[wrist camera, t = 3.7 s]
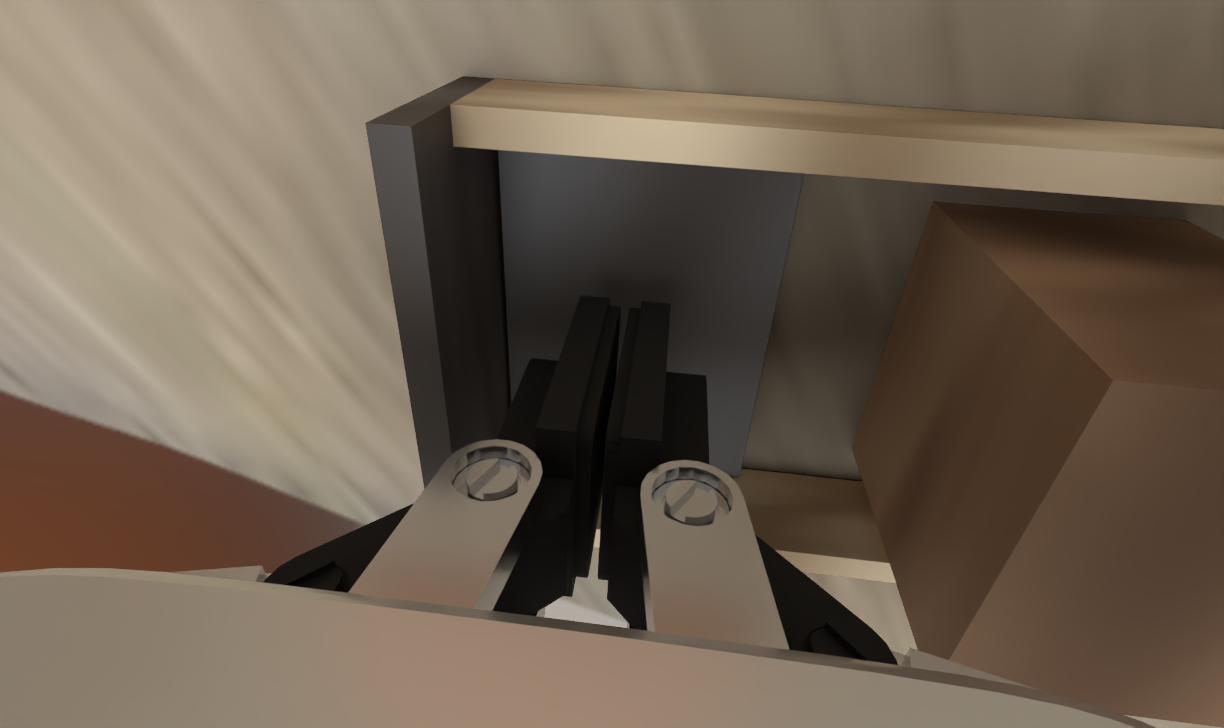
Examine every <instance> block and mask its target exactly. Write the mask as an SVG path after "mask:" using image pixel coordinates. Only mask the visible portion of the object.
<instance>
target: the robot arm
mask: <svg viewBox="0 0 1224 728" xmlns="http://www.w3.org/2000/svg"><path fill="white" fill-rule="evenodd" d="M670 308H671V304H670V303H659V302H648V301H642V303H641V308H629V313H628V318H627V324H626V329H625V334H624V340H623V345H622V350H621V356H620V361H619V366H618V372H617V363H618V347H619V331H620V315H621V307H620V306H610V298H605V297H594V296H584V295H581V296H580V298H579V301H578V304H577V307H576V310H575V313H574V316H573V319H572V322H571V325H570V328H569V331H568V333H567V336H566V339H565V342H564V345H563V348H562V351H561V354H560V357H559V360H558V361H557V360H547V359H537V358H532V359H530V361H529V363H528V365H527V367H526V370H525V372H524V375H523V377H522V379H521V382H520V384H519V387H518V389H517V391H516V394H515V396H514V399H513V401H512V403H511V406H510V408H509V411H508V413H507V415H506V418H505V420H504V423H503V425H502V427H501V430H500V432H499V435H498V437H497V439H494V440H484V441H479V442H476V443H473V444H469V445H466V446H465V447H463V448H461V449H459V450H458V451H456V452H454V453H453V454H452V455H451V456H450V457H449V458H448V459H447V460H446V461H445V462H444V464H443V465H442V466H441V468H440V469H439V470H438V472H437V473H436V474H435V476H434V477H433V479H432V480H431V481H430V483H429V484H428V485H427V487H426V488H425V489H424V491H423V492H422V493H421V495H420V496H419V497H418V499H417V500H416V502H415V503H414V504H412V505H409V506H407V507H405V508H403V509H401V510H398V511H396V512H394V513H392V514H389V515H387V516H385V517H383V518H381V519H378V520H376V521H374V522H372V523H370V524H367V525H365V526H363V527H361V528H359V529H356V530H354V531H352V532H350V533H348V534H345V535H343V536H341V537H339V538H336V539H334V540H332V541H330V542H328V543H325V544H323V545H321V546H319V547H317V548H314V549H312V550H310V551H308V552H305V553H304V554H301V555H299V556H297V557H295V558H293V559H292V560H290V561H288V562H286V563H285V564H283V565H281V566H280V567H278V568H277V569H276V570H275V571H274V572H273V573H269V574H265V572H264V569H263V567H262V566H251V567H236V568H223V569H209V570H195V571H182V572H153V571H139V570H123V569H109V568H54V569H41V570H29V571H16V572H4V573H0V728H1155V727H1153V726H1151V725H1148V724H1146V723H1144V722H1141V721H1139V720H1136V719H1133V718H1130V717H1127V716H1124V715H1121V714H1118V713H1115V712H1112V711H1110V710H1107V709H1104V708H1101V707H1098V706H1095V705H1092V704H1089V703H1086V702H1083V701H1080V700H1076V699H1072V698H1068V697H1064V696H1060V695H1056V694H1052V693H1048V692H1044V691H1041V690H1038V689H1035V688H1032V687H1029V686H1026V685H1023V684H1020V683H1017V682H1014V681H1011V680H1007V679H1004V678H1001V677H998V676H995V675H992V674H989V673H986V672H983V671H980V670H977V669H974V668H971V667H968V666H965V665H961V664H958V663H955V662H952V661H949V660H946V659H943V658H940V657H937V656H934V655H931V654H928V653H925V652H922V651H919V650H916V649H912V648H909V650H908V652H907V654H906V655H903V654H900V653H897V652H894V651H891V650H890V649H889V647H888V645H887V644H886V642H885V641H884V640H883V639H882V638H881V637H880V636H879V635H878V634H877V633H876V632H875V631H874V630H873V629H872V628H870V627H869V626H868V625H867V624H866V623H864V622H863V621H862V620H861V619H859V618H858V617H857V616H856V615H854V614H853V613H852V612H851V611H849V610H848V609H847V608H846V607H845V606H843V605H842V604H841V603H840V602H838V601H837V600H836V599H835V598H833V597H832V596H831V595H830V594H828V593H827V592H826V591H825V590H824V589H822V588H821V587H820V586H819V585H817V584H816V583H815V582H814V581H812V580H811V579H810V578H809V577H807V576H806V575H805V574H804V573H803V572H801V571H800V570H799V569H798V568H796V567H795V566H794V565H793V564H791V563H790V562H789V561H788V560H786V559H785V558H784V557H783V556H782V555H780V554H779V553H778V552H777V551H775V550H774V549H773V548H772V547H770V546H769V545H768V544H767V543H765V542H764V541H763V540H762V539H761V538H759V537H758V536H757V535H756V534H755V533H754V530H753V526H752V523H751V520H750V516H749V513H748V510H747V506H746V503H745V500H744V496H743V494H742V492H741V490H740V488H739V486H738V484H737V483H736V482H735V481H734V480H733V479H732V478H731V477H730V476H729V475H728V474H727V473H725V472H723V471H722V470H720V469H718V468H717V467H715V466H712V465H709V435H708V404H707V379H706V375H696V374H686V373H676V372H667V371H666V368H667V353H668V338H669V323H670ZM601 499H602V509H601V528H600V546H599V565H598V579H601V580H608V594H607V599H608V600H609V602H610V603H611V604H612V605H613V606H614V607H615V608H616V609H617V611H618V612H619V613H620V614H621V615H622V616H623V617H624V618H625V619H626V621H627V622H628V623H627V628H621V627H614V626H606V625H599V624H590V623H583V622H575V621H568V620H560V619H552V618H544V615H545V607H546V606H547V605H549V604H551V603H552V602H554V601H555V600H557V599H559V598H560V597H562V596H570V597H572V594H573V589H574V584H575V579H576V576H577V577H585V578H587V577H588V574H589V569H590V563H591V557H592V552H593V546H594V540H595V534H596V528H597V522H598V517H599V511H600V505H601Z"/></svg>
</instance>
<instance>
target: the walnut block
mask: <svg viewBox="0 0 1224 728" xmlns="http://www.w3.org/2000/svg"><path fill="white" fill-rule="evenodd" d="M852 450H853V453H854V456H855V459H856V462H857V465H858V468H859V471H860V474H861V477H862V480H863V484H864V487H865V490H866V493H867V496H868V499H869V502H870V505H871V508H872V511H873V514H874V517H875V520H876V523H877V526H878V529H879V532H880V535H881V538H882V541H883V544H884V548H885V551H886V554H887V557H888V560H889V563H890V566H891V569H892V572H893V575H894V578H895V581H896V584H897V587H898V590H899V593H900V596H901V599H902V602H903V605H904V608H905V612H906V615H907V618H908V621H909V624H910V627H911V630H912V633H913V636H914V639H915V642H916V645H917V648H918V650H919V651H922V652H925V653H928V654H931V655H934V656H937V657H940V658H943V659H946V660H949V661H952V662H955V663H958V664H961V665H965V666H968V667H971V668H974V669H977V670H980V671H983V672H986V673H989V674H992V675H995V676H998V677H1001V678H1004V679H1007V680H1011V681H1014V682H1017V683H1020V684H1023V685H1026V686H1029V687H1032V688H1035V689H1038V690H1041V691H1044V692H1048V693H1052V694H1056V695H1060V696H1064V697H1068V698H1072V699H1076V700H1080V701H1083V702H1086V703H1089V704H1092V705H1095V706H1098V707H1101V708H1104V709H1107V710H1110V711H1112V712H1115V713H1118V714H1123V715H1130V716H1138V717H1146V718H1154V719H1162V720H1170V721H1177V722H1185V723H1193V724H1201V725H1209V726H1217V727H1224V240H1223V239H1221V238H1219V237H1217V236H1215V235H1213V234H1211V233H1209V232H1208V231H1206V230H1204V229H1202V228H1200V227H1198V226H1196V225H1194V224H1192V223H1190V222H1188V221H1180V220H1167V219H1154V218H1141V217H1127V216H1114V215H1101V214H1088V213H1075V212H1062V211H1048V210H1035V209H1022V208H1009V207H996V206H982V205H969V204H956V203H943V202H933V203H932V206H931V209H930V212H929V215H928V218H927V221H926V224H925V227H924V230H923V233H922V236H921V239H920V242H919V245H918V249H917V252H916V255H915V258H914V261H913V264H912V267H911V270H910V273H909V276H908V279H907V282H906V285H905V288H904V291H903V294H902V297H901V300H900V303H899V306H898V309H897V312H896V315H895V318H894V321H893V324H892V327H891V330H890V333H889V336H888V339H887V342H886V345H885V348H884V351H883V354H882V357H881V360H880V363H879V366H878V369H877V372H876V375H875V378H874V381H873V384H872V387H871V391H870V394H869V397H868V400H867V403H866V406H865V409H864V412H863V415H862V418H861V421H860V424H859V427H858V430H857V433H856V436H855V439H854V442H853V445H852Z"/></svg>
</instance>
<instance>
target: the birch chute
mask: <svg viewBox="0 0 1224 728" xmlns="http://www.w3.org/2000/svg"><path fill="white" fill-rule="evenodd" d="M366 129H367V135H368V141H369V148H370V154H371V160H372V166H373V172H374V179H375V185H376V191H377V197H378V203H379V209H380V216H381V222H382V228H383V234H384V240H385V247H386V253H387V259H388V265H389V271H390V278H391V284H392V290H393V296H394V302H395V309H396V315H397V321H398V327H399V333H400V340H401V346H402V352H403V358H404V364H405V370H406V377H407V383H408V389H409V395H410V401H411V408H412V414H413V420H414V426H415V432H416V439H417V445H418V451H419V457H420V463H421V470H422V476H423V482H424V488H426V487H427V485H428V484H429V483H430V481H431V480H432V479H433V477H434V476H435V474H436V473H437V472H438V470H439V469H440V468H441V466H442V465H443V464H444V462H445V461H446V460H447V459H448V458H449V457H450V456H451V455H452V454H453V453H454V452H456V451H458V450H459V449H461V448H463V447H465V446H466V445H469V444H473V443H476V442H479V441H484V440H494V439H497V437H498V435H499V432H500V430H501V427H502V425H503V423H504V420H505V418H506V415H507V413H508V411H509V408H510V406H511V403H512V401H513V399H514V396H515V394H516V391H517V389H518V387H519V384H520V382H521V379H522V377H523V375H524V372H525V370H526V367H527V365H528V363H529V361H530V359H532V358H537V359H547V360H557V361H558V360H559V357H560V354H561V351H562V348H563V345H564V342H565V339H566V336H567V333H568V331H569V328H570V325H571V322H572V319H573V316H574V313H575V310H576V307H577V304H578V301H579V298H580V296H581V295H584V296H594V297H605V298H610V306H620V307H621V315H620V331H619V347H618V363H617V372H618V366H619V361H620V356H621V350H622V345H623V340H624V334H625V329H626V324H627V318H628V313H629V308H641V303H642V301H648V302H659V303H670V304H671V308H670V323H669V338H668V353H667V368H666V371H667V372H676V373H686V374H696V375H706V379H707V404H708V435H709V465H712V466H715V467H717V468H718V469H720V470H722V471H723V472H725V473H727V474H728V475H729V476H730V477H731V478H732V479H733V480H734V481H735V482H736V483H737V484H738V486H739V488H740V490H741V492H742V494H743V496H744V500H745V503H746V506H747V510H748V513H749V516H750V520H751V523H752V526H753V530H754V533H755V534H756V535H757V536H758V537H759V538H761V539H762V540H763V541H764V542H765V543H767V544H768V545H769V546H770V547H772V548H773V549H774V550H775V551H777V552H778V553H779V554H780V555H782V556H783V557H784V558H785V559H786V560H788V561H789V562H790V563H791V564H793V565H794V566H795V567H796V568H798V569H799V570H800V571H801V572H806V573H815V574H823V575H831V576H840V577H848V578H856V579H865V580H873V581H882V582H890V583H896V581H895V578H894V575H893V572H892V569H891V566H890V563H889V560H888V557H887V554H886V551H885V548H884V544H883V541H882V538H881V535H880V532H879V529H878V526H877V523H876V520H875V517H874V514H873V511H872V508H871V505H870V502H869V499H868V496H867V493H866V490H865V487H864V484H863V482H860V481H851V480H842V479H833V478H824V477H815V476H805V475H796V474H787V473H778V472H769V471H760V470H750V469H741V466H742V461H743V457H744V452H745V447H746V443H747V438H748V433H749V429H750V424H751V419H752V415H753V410H754V405H755V401H756V396H757V391H758V386H759V382H760V377H761V372H762V368H763V363H764V358H765V354H766V349H767V344H768V340H769V335H770V330H771V326H772V321H773V316H774V312H775V307H776V302H777V297H778V293H779V288H780V283H781V279H782V274H783V269H784V265H785V260H786V255H787V251H788V246H789V241H790V237H791V232H792V227H793V223H794V218H795V213H796V209H797V204H798V199H799V194H800V190H801V185H802V180H803V176H804V173H806V174H819V175H832V176H845V177H858V178H871V179H884V180H897V181H910V182H923V183H936V184H949V185H962V186H975V187H988V188H1001V189H1014V190H1027V191H1040V192H1053V193H1066V194H1079V195H1092V196H1105V197H1118V198H1131V199H1144V200H1157V201H1170V202H1183V203H1196V204H1209V205H1222V206H1224V129H1215V128H1201V127H1186V126H1172V125H1158V124H1143V123H1129V122H1114V121H1100V120H1085V119H1071V118H1056V117H1042V116H1027V115H1013V114H998V113H984V112H969V111H955V110H940V109H926V108H911V107H897V106H882V105H868V104H853V103H839V102H824V101H810V100H795V99H781V98H766V97H752V96H737V95H723V94H708V93H694V92H680V91H665V90H651V89H636V88H622V87H607V86H593V85H578V84H564V83H549V82H535V81H520V80H506V79H491V78H477V77H461V78H459V79H457V80H455V81H453V82H450V83H448V84H446V85H444V86H442V87H440V88H438V89H436V90H434V91H432V92H430V93H427V94H425V95H423V96H421V97H419V98H417V99H415V100H413V101H411V102H409V103H407V104H404V105H402V106H400V107H398V108H396V109H394V110H392V111H390V112H388V113H386V114H384V115H381V116H379V117H377V118H375V119H373V120H371V121H369V122H367V123H366ZM601 509H602V499H601V505H600V511H599V517H598V522H597V528H596V534H595V540H594V546H593V547H597V548H599V546H600V528H601Z"/></svg>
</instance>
